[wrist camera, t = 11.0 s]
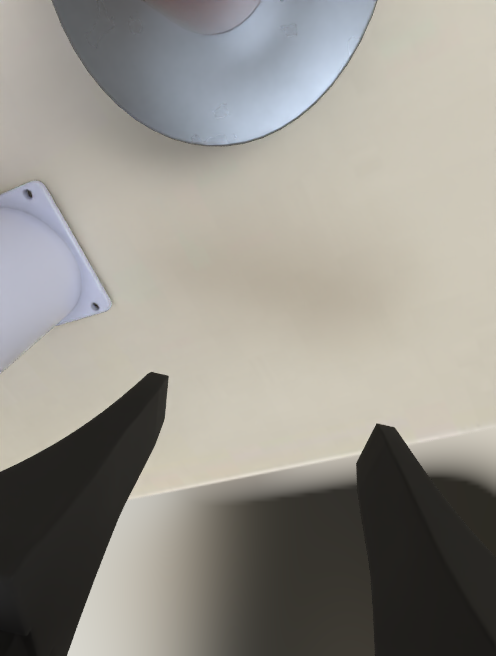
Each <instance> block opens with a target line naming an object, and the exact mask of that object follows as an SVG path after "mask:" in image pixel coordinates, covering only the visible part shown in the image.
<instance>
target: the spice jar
mask: <svg viewBox="0 0 496 656" xmlns="http://www.w3.org/2000/svg"><path fill="white" fill-rule="evenodd" d="M141 1H142V2H144V3H145V4H147V5H148V6H149V7H151V8H152V9H154V10H155V11H157V12H158V13H160V14H161V15H163V16H164V17H166V18H167V19H168V20H170V21H171V22H173V23H174V24H176V25H177V26H179V27H180V28H182V29H184V30H187V31H189V32H192V33H195V34H202V35H214V34H219V33H223V32H226V31H228V30H231V29H232V28H234V27H236V26H238V25H239V24H240V23H242V22H243V21H244V20H245V19H246V18H247V17H248V16H249V15H250V14H251V13H252V12H253V11H254V9H255V8H256V7H257V5H258V4H259V3H260V1H261V0H141Z"/></svg>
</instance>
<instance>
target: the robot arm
mask: <svg viewBox="0 0 496 656" xmlns="http://www.w3.org/2000/svg"><path fill="white" fill-rule="evenodd" d="M28 190H30V192H31V193H32V197H30V196H29V195H28V192H27V191H28ZM94 303H96V304H97V305H98V306H99V308H97V307H96V306H95V305H94ZM111 306H112V302H111V300H110V298H109V296H108V295H107V293H106V291H105V289H104V288H103V286H102V284H101V282H100V280H99V279H98V277H97V275H96V273H95V272H94V270H93V268H92V266H91V265H90V263H89V261H88V259H87V258H86V256H85V254H84V252H83V251H82V249H81V247H80V245H79V244H78V242H77V240H76V238H75V237H74V235H73V233H72V231H71V230H70V228H69V226H68V224H67V223H66V221H65V219H64V217H63V216H62V214H61V212H60V210H59V209H58V207H57V205H56V203H55V202H54V200H53V198H52V196H51V195H50V193H49V191H48V189H47V188H46V186H45V185H44V184H43V183H42V182H41V181H38V180H35V181H30V182H28V183H26V184H23V185H21V186H19V187H16V188H14V189H12V190H9V191H7V192H5V193H2V194H0V374H1V373H2V372H3V371H4V370H5V369H6V368H8V367H9V366H10V365H11V364H12V363H13V362H14V361H16V360H17V359H18V358H19V357H20V356H21V355H22V354H23V353H25V352H26V351H27V350H28V349H29V348H30V347H31V346H33V345H34V344H35V343H36V342H37V341H38V340H39V339H40V338H42V337H43V336H44V335H45V334H46V333H47V332H48V331H50V330H51V329H52V328H53V327H54V326H57V325H61V324H64V323H68V322H71V321H75V320H78V319H82V318H85V317H88V316H92V315H95V314H99V313H102V312H106V311H108V310H109V309H110V308H111ZM168 377H169V376H167V375H162V374H158V373H154V372H150V373H148V374H147V375H146V376H145V377H144V378H143V379H142V380H141V381H139V382H138V383H137V384H136V385H135V386H134V387H133V388H131V389H130V390H129V391H128V392H127V393H126V394H124V395H123V396H122V397H121V398H120V399H118V400H117V401H116V402H114V403H113V404H112V405H111V406H109V407H108V408H107V409H106V410H104V411H103V412H102V413H100V414H99V415H98V416H96V417H95V418H93V419H92V420H91V421H89V422H88V423H86V424H85V425H84V426H82V427H81V428H79V429H78V430H76V431H75V432H73V433H71V434H70V435H68V436H67V437H65V438H63V439H62V440H60V441H59V442H57V443H55V444H54V445H52V446H50V447H48V448H46V449H45V450H43V451H41V452H39V453H37V454H36V455H34V456H32V457H30V458H28V459H26V460H24V461H22V462H20V463H18V464H16V465H14V466H12V467H10V468H8V469H5V470H3V471H1V472H0V656H67V654H68V651H69V648H70V645H71V642H72V640H73V636H74V634H75V631H76V628H77V625H78V622H79V620H80V617H81V614H82V612H83V609H84V606H85V603H86V601H87V598H88V595H89V593H90V590H91V587H92V585H93V582H94V579H95V577H96V574H97V571H98V569H99V566H100V564H101V561H102V559H103V556H104V553H105V551H106V548H107V546H108V543H109V541H110V538H111V536H112V533H113V531H114V528H115V526H116V523H117V521H118V518H119V516H120V514H121V512H122V509H123V507H124V505H125V503H126V501H127V499H128V497H129V495H130V493H131V491H132V489H133V488H134V486H135V484H136V482H137V480H138V478H139V476H140V474H141V472H142V470H143V468H144V466H145V464H146V462H147V460H148V458H149V456H150V454H151V452H152V450H153V448H154V446H155V444H156V441H157V438H158V436H159V433H160V430H161V428H162V425H163V422H164V419H165V409H166V398H167V388H168ZM356 466H357V493H358V500H359V506H360V513H361V519H362V524H363V531H364V536H365V543H366V549H367V555H368V561H369V568H370V576H371V590H372V604H373V621H374V642H375V656H496V557H495V556H494V555H493V554H492V553H491V552H490V551H489V550H488V549H487V548H486V546H485V545H484V544H483V543H482V542H481V541H480V540H479V538H478V537H477V536H476V535H475V534H474V533H473V532H472V531H471V530H470V529H469V527H468V526H467V525H466V524H465V523H464V522H463V520H462V519H461V518H460V517H459V515H458V514H457V513H456V512H455V510H454V509H453V508H452V507H451V505H450V504H449V503H448V502H447V500H446V499H445V498H444V497H443V495H442V494H441V493H440V491H439V490H438V489H437V488H436V486H435V485H434V483H433V482H432V481H431V479H430V478H429V476H428V475H427V474H426V472H425V471H424V469H423V468H422V466H421V465H420V464H419V462H418V461H417V459H416V458H415V456H414V455H413V453H412V452H411V451H410V449H409V448H408V446H407V445H406V443H405V442H404V440H403V439H402V437H401V436H400V434H399V433H398V432H397V430H396V429H395V427H390V426H386V425H381V424H376V426H375V428H374V430H373V432H372V434H371V436H370V437H369V439H368V441H367V443H366V445H365V447H364V449H363V451H362V453H361V455H360V457H359V459H358V461H357V463H356Z"/></svg>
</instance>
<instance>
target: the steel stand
mask: <svg viewBox="0 0 496 656" xmlns="http://www.w3.org/2000/svg"><path fill="white" fill-rule="evenodd" d="M52 3H53V5H54V8H55V10H56V13H57V15H58V18H59V20H60V23H61V25H62V27H63V29H64V31H65V33H66V35H67V37H68V39H69V41H70V43H71V45H72V47H73V49H74V50H75V52H76V54H77V55H78V57H79V58H80V60H81V61H82V63H83V64H84V66H85V68H86V69H87V71H88V72H89V73H90V75H91V76H92V77H93V78H94V80H95V81H96V82H97V83H98V85H99V86H100V87H101V88H102V90H103V91H104V92H105V93H106V94H107V95H108V96H109V97H110V98H111V99H112V100H113V101H114V102H115V103H116V104H117V105H118V106H119V107H120V108H122V109H123V110H124V111H125V112H127V113H128V114H129V115H130V116H132V117H133V118H134V119H135V120H137V121H139V122H140V123H142V124H143V125H145V126H147V127H148V128H150V129H152V130H153V131H155V132H158V133H160V134H162V135H164V136H167V137H169V138H171V139H175V140H178V141H181V142H185V143H188V144H194V145H201V146H231V145H238V144H244V143H248V142H251V141H254V140H257V139H261V138H264V137H266V136H268V135H270V134H272V133H274V132H276V131H278V130H281V129H282V128H284V127H285V126H287V125H288V124H290V123H292V122H293V121H295V120H296V119H298V118H299V117H300V116H301V115H303V114H304V113H305V112H306V111H307V110H309V109H310V108H311V107H312V106H313V105H314V104H316V103H317V102H318V100H319V99H320V98H321V97H322V96H323V95H324V94H325V93H326V92H327V91H328V90H329V88H330V87H331V86H332V85H333V84H334V82H335V81H336V80H337V78H338V77H339V76H340V74H341V73H342V71H343V70H344V69H345V67H346V66H347V64H348V63H349V61H350V59H351V57H352V56H353V54H354V52H355V51H356V49H357V47H358V45H359V44H360V42H361V40H362V37H363V35H364V33H365V31H366V29H367V26H368V24H369V22H370V20H371V17H372V15H373V12H374V9H375V6H376V3H377V0H261V1H260V3H259V4H258V5H257V7H256V8H255V9H254V11H253V12H252V13H251V14H250V15H249V16H248V17H247V18H246V19H245V20H244V21H243V22H242V23H240V24H239V25H238V26H236V27H234V28H232V29H231V30H228V31H226V32H223V33H219V34H214V35H202V34H195V33H192V32H189V31H187V30H184V29H182V28H180V27H179V26H177V25H176V24H174V23H173V22H171V21H170V20H168V19H167V18H166V17H164V16H163V15H161V14H160V13H158V12H157V11H155V10H154V9H152V8H151V7H149V6H148V5H147V4H145V3H144V2H142V1H141V0H52Z"/></svg>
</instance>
